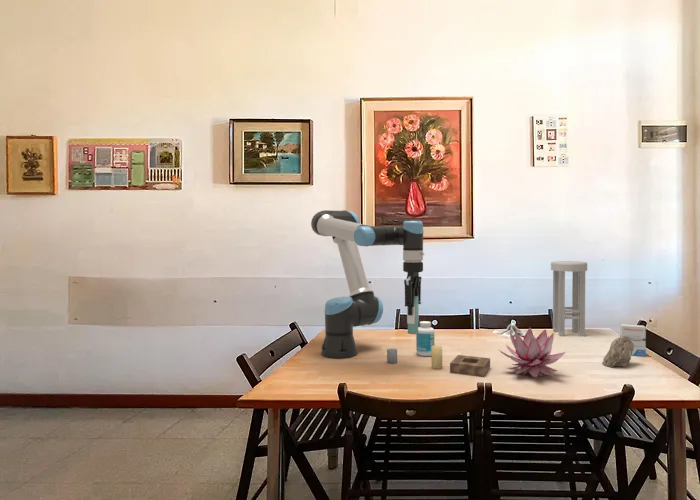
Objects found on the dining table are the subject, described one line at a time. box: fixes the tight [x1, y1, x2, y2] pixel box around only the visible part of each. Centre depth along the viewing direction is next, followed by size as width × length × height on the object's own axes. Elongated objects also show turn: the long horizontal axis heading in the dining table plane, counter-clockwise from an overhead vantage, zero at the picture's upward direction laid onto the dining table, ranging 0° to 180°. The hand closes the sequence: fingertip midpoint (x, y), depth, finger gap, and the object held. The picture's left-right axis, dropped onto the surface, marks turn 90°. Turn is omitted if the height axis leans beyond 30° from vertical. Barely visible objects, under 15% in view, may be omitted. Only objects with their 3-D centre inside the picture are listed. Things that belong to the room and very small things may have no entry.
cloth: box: [492, 322, 536, 339], centre depth 231 cm, size 22×19×6 cm
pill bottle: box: [415, 320, 435, 357], centre depth 195 cm, size 8×7×14 cm
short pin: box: [386, 348, 398, 365], centre depth 184 cm, size 4×4×5 cm
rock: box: [601, 336, 634, 368], centre depth 176 cm, size 14×10×8 cm
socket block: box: [449, 354, 491, 378], centre depth 173 cm, size 12×12×4 cm
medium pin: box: [430, 344, 443, 370], centre depth 176 cm, size 4×4×8 cm
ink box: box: [619, 323, 647, 357], centre depth 190 cm, size 8×5×12 cm, turn 65°
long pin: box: [407, 296, 419, 335], centre depth 180 cm, size 4×4×14 cm
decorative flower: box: [498, 327, 566, 378], centre depth 167 cm, size 21×21×15 cm
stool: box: [550, 260, 588, 337], centre depth 228 cm, size 16×16×35 cm
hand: (412, 322), depth 180 cm, fingers closed on long pin, 4 cm apart
